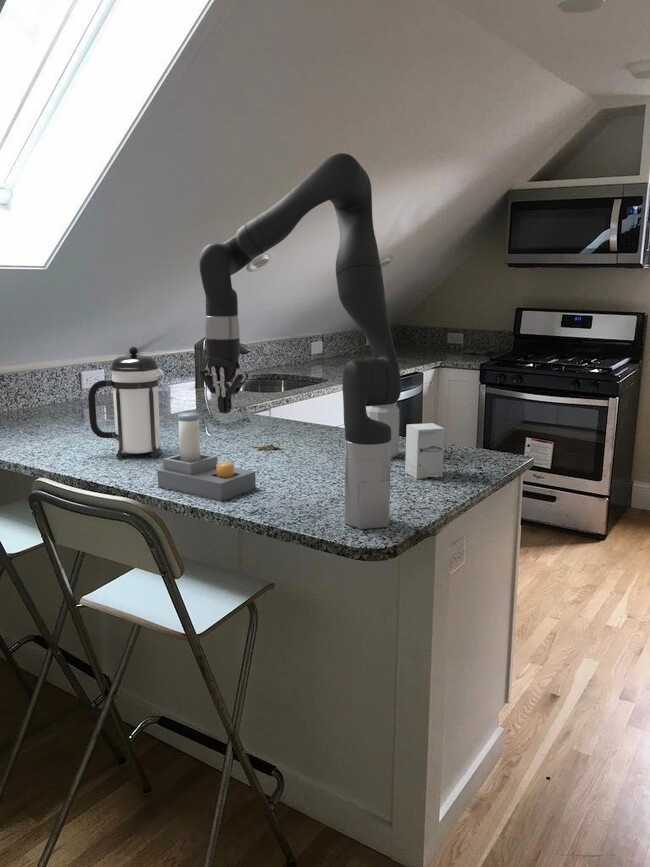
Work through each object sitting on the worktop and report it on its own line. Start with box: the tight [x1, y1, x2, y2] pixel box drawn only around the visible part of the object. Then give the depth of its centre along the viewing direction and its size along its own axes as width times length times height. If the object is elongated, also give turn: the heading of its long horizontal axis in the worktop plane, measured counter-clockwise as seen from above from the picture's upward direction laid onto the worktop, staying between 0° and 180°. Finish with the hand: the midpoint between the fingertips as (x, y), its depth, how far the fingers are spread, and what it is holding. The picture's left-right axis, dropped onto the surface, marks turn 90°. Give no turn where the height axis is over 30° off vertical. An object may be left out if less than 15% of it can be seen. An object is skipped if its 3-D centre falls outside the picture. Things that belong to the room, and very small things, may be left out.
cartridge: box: [177, 412, 201, 463], centre depth 175 cm, size 5×5×13 cm
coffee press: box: [87, 346, 165, 460], centre depth 202 cm, size 17×16×30 cm
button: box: [216, 461, 235, 479], centre depth 171 cm, size 4×4×4 cm
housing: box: [156, 452, 257, 502], centre depth 174 cm, size 20×12×6 cm, turn 56°
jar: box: [366, 401, 400, 459], centre depth 203 cm, size 10×10×18 cm
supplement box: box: [404, 422, 445, 480], centre depth 184 cm, size 7×7×13 cm
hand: (224, 412), depth 168 cm, fingers closed
